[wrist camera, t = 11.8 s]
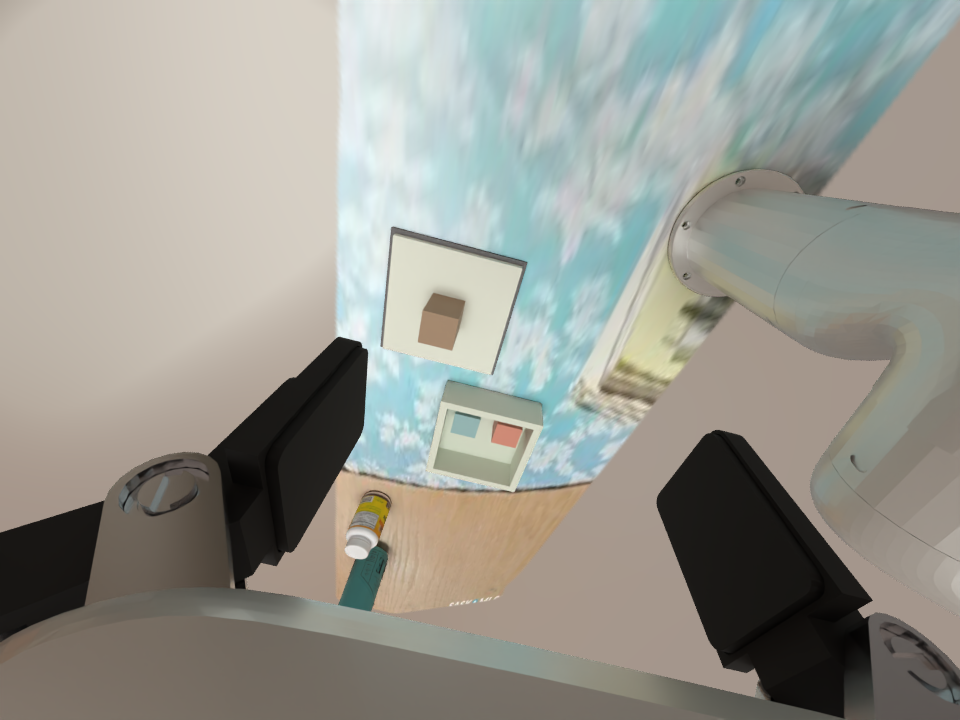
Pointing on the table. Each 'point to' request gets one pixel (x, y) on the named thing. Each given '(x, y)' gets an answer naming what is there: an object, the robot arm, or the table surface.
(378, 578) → the beverage bottle
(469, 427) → the teal block
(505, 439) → the red block
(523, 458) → the box
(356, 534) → the supplement bottle
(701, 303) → the table surface
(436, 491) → the table surface
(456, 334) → the lid
